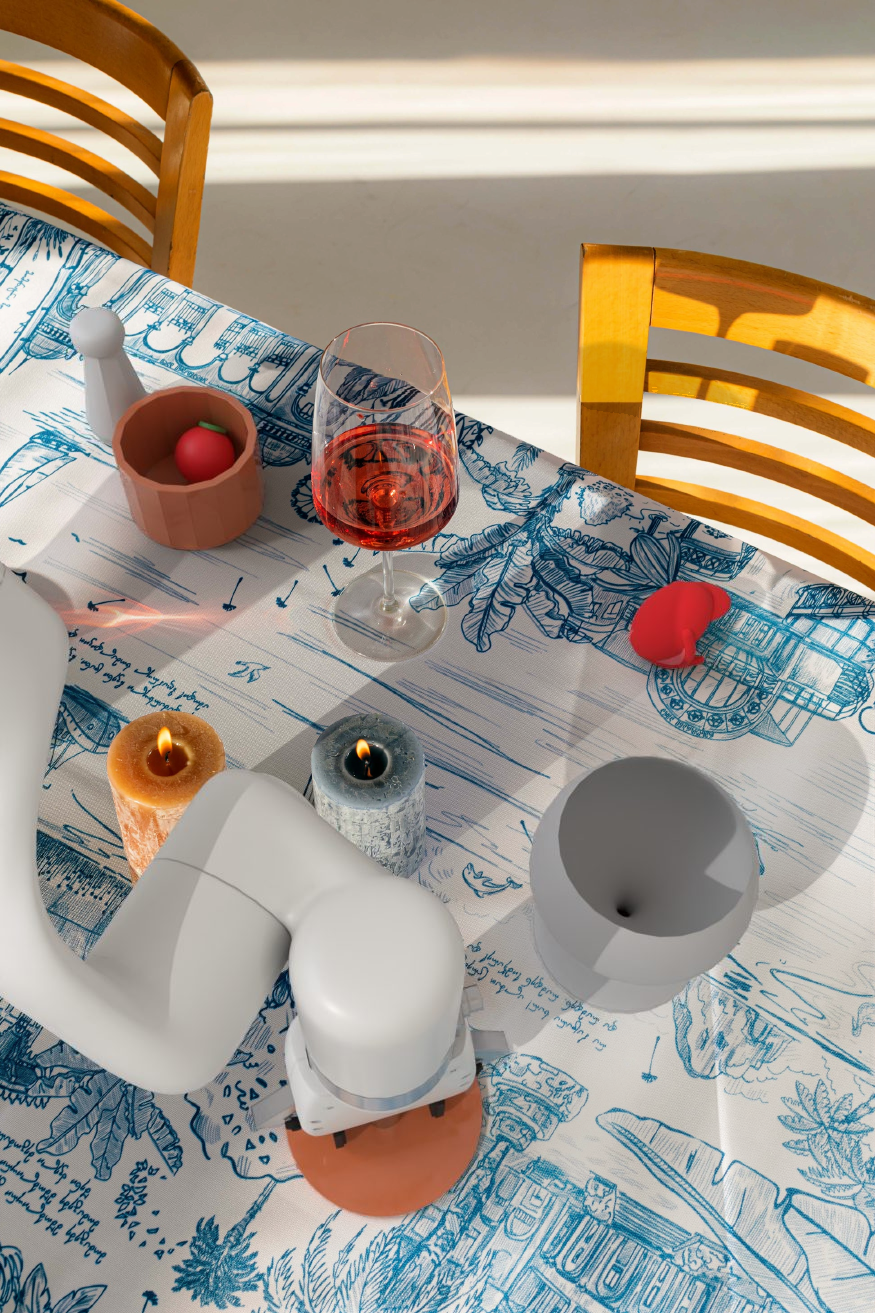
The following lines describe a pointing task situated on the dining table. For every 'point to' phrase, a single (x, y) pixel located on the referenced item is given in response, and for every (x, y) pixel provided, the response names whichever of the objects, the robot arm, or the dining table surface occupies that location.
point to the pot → (160, 489)
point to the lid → (393, 1158)
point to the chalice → (639, 882)
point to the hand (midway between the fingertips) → (383, 1107)
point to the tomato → (204, 453)
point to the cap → (676, 622)
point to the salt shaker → (105, 369)
